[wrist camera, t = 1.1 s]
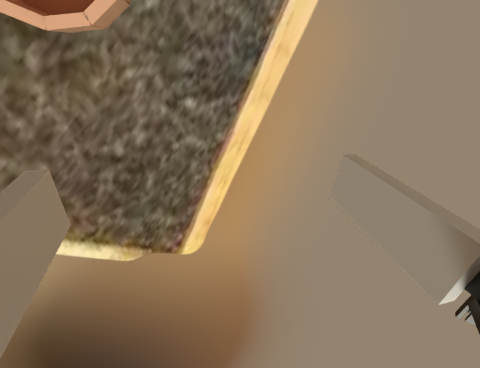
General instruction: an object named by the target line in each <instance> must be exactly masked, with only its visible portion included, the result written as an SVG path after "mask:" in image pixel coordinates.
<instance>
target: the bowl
mask: <svg viewBox="0 0 480 368" xmlns="http://www.w3.org/2000/svg"><path fill="white" fill-rule="evenodd" d="M129 3H131V0H0V12H1V13H4V14H6V15H9V16H11V17H14V18H16V19H19V20H21V21H24V22H26V23H29V24H31V25H34V26H36V27H39V28H41V29H44V30H49V31H59V32H70V33H72V32H80V31H89V30H98V29H105V28H107V27H108V26H109V25H110V24H111V23H112V22H113V21H114V20H115V19H116V18H117V17H118V16H119V15H120V14H121V13H122V12H123V11H124V10H125V9H126V8H127V7H128V6H129Z"/></svg>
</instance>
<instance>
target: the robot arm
mask: <svg viewBox="0 0 480 368" xmlns="http://www.w3.org/2000/svg"><path fill="white" fill-rule="evenodd" d="M330 200H331V201H332V202H333V203H334V204H335V205H336V206H337V207H338V208H340V209H341V211H342V212H343V213H345V214H346V215H347V216H348V217H349V218H350V219H351V220H352V221H353V222H354V223H355V224H356V225H357V226H358V227H359V228H360V229H361V230H362V231H363V232H364V233H365V234H366V235H367V236H368V237H369V238H370V239H371V240H372V241H373V242H374V243H375V244H376V245H377V246H378V247H380V249H381V250H383V251H384V252H385V253H386V254H387V255H388V256H389V257H390V258H391V259H392V260H393V261H394V262H395V263H396V264H397V265H398V266H399V267H400V268H401V269H402V270H403V271H404V272H405V273H406V274H407V275H408V276H409V277H410V278H411V279H412V280H413V281H414V282H415V283H416V284H417V285H418V286H419V287H420V288H421V289H423V291H425V292H426V293H427V294H428V295H429V296H430V297H431V298H432V299H433V300H434V301H435V302H436V303H437V304H438V305H440V304H443V303H447V302H451V301H454V300H455V299H456V298H457V297H458V296H459V295H460V294H461V292H462V291H463V290H464V289H465V290H466V291H468V292H469V293H470V294H471V296H470V297H469V298H468V299H467V300H466V301H465V303H464V304H463V305H462V306H461V307H460V308H459V309H458V310H457V311H456V313H455V315H456V318H458V319H460V318H461V317H462V316H463V315H464V314H465V313H466V312H469V313H470V314H469V315H468V316H467V317H466V319H465V321H466V322H468V323H471V324H474V325H476V327H477V329H478V331H479V333H480V229H478V228H477V227H475V226H473V225H472V224H470V223H468V222H467V221H465V220H463V219H462V218H460V217H458V216H457V215H455V214H453V213H452V212H450V211H448V210H447V209H445V208H443V207H442V206H440V205H438V204H437V203H435V202H433V201H431V200H430V199H428V198H427V197H425V196H423V195H422V194H420V193H419V192H417V191H415V190H414V189H412V188H410V187H409V186H407V185H405V184H403V183H402V182H400V181H398V180H397V179H395V178H394V177H392V176H390V175H389V174H387V173H385V172H384V171H382V170H380V169H379V168H377V167H375V166H374V165H372V164H370V163H369V162H367V161H365V160H364V159H362V158H361V157H359V156H357V155H355V154H354V155H343V157H342V160H341V163H340V166H339V169H338V173H337V176H336V179H335V182H334V185H333V189H332V192H331V195H330ZM70 226H71V225H70V223H69V220H68V218H67V215H66V213H65V210H64V208H63V205H62V202H61V200H60V197H59V195H58V192H57V190H56V187H55V185H54V182H53V179H52V177H51V174H50V172H49V170H34V171H24V172H23V173H22V174H21V175H20V176H18V177H17V178H16V179H15V180H14V181H13V182H12V183H11V184H10V185H9V186H7V187H6V188H5V189H4V190H3V191H2V192H1V193H0V358H1V356H2V354H3V352H4V351H5V349H6V347H7V345H8V343H9V341H10V339H11V337H12V335H13V333H14V332H15V330H16V327H17V326H18V324H19V322H20V320H21V318H22V317H23V315H24V313H25V311H26V309H27V307H28V305H29V303H30V301H31V299H32V298H33V296H34V294H35V292H36V290H37V288H38V286H39V284H40V282H41V281H42V279H43V277H44V275H45V273H46V271H47V269H48V267H49V265H50V263H51V262H52V260H53V258H54V256H55V254H56V252H57V250H58V248H59V246H60V245H61V243H62V241H63V239H64V237H65V235H66V233H67V231H68V229H69V228H70Z"/></svg>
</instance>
